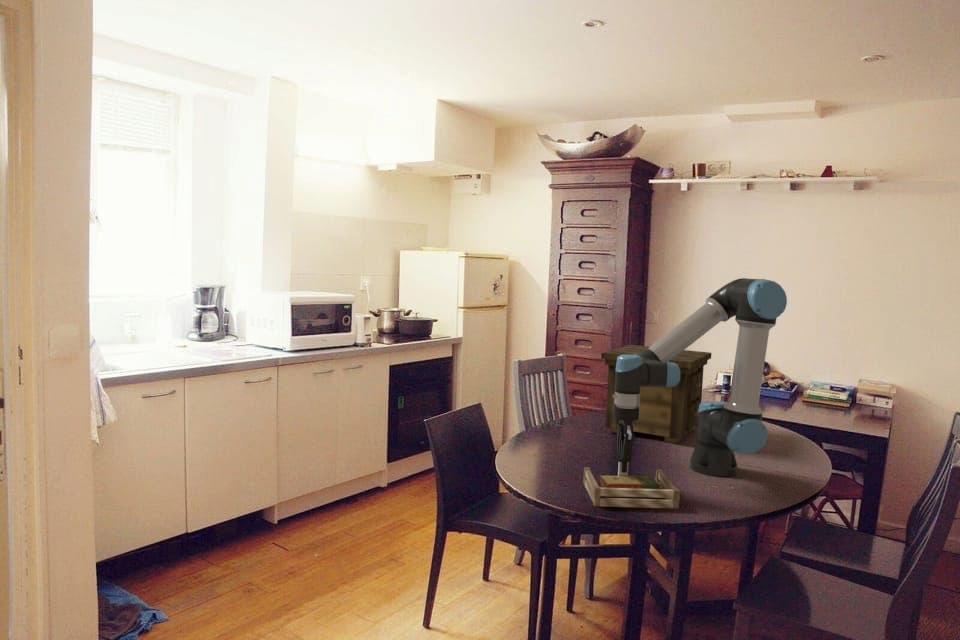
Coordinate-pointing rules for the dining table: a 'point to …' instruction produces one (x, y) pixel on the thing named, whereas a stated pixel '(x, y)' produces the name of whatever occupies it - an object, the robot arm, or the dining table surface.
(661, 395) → the crate
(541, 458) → the dining table surface
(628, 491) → the slatted wooden tray
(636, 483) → the carton
